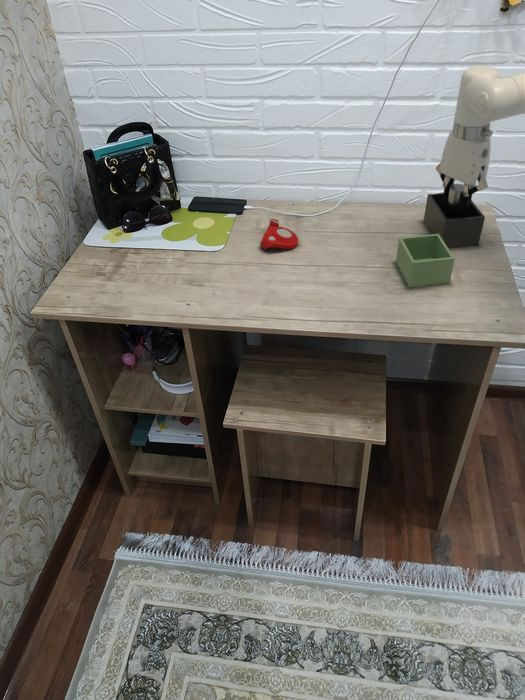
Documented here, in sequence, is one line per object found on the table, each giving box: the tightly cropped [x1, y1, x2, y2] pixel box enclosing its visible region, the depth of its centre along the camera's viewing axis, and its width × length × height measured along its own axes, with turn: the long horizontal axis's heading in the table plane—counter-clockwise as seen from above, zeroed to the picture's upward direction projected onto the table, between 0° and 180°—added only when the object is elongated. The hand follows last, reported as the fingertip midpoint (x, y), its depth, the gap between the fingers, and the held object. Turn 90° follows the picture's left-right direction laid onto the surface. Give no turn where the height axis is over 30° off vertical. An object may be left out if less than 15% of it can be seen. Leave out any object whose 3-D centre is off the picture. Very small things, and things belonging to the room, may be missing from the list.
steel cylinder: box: [446, 183, 464, 211], centre depth 135 cm, size 4×4×5 cm
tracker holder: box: [259, 218, 299, 250], centre depth 142 cm, size 12×4×10 cm
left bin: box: [395, 233, 456, 289], centre depth 128 cm, size 10×9×7 cm
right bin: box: [423, 192, 486, 249], centre depth 139 cm, size 13×9×8 cm
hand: (455, 204), depth 136 cm, fingers closed on steel cylinder, 4 cm apart
